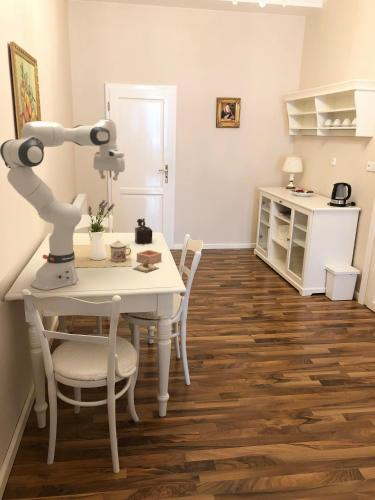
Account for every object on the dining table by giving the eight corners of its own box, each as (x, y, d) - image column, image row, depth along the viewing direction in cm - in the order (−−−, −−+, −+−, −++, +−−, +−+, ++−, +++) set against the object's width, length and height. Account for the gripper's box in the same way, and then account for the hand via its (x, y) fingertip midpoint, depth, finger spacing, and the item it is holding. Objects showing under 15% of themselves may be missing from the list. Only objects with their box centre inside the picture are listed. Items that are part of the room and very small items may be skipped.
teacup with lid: (111, 262, 230) (111, 243, 226) (109, 258, 238) (109, 239, 235) (132, 261, 233) (132, 241, 230) (129, 256, 242) (129, 238, 238)
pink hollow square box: (149, 265, 227) (149, 256, 226) (136, 261, 233) (136, 253, 232) (161, 261, 235) (161, 252, 234) (148, 257, 241) (148, 249, 239)
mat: (146, 273, 214) (146, 272, 214) (132, 268, 220) (132, 268, 220) (158, 268, 222) (158, 267, 222) (145, 264, 228) (145, 264, 228)
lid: (145, 272, 214) (145, 263, 213) (132, 268, 220) (132, 259, 219) (158, 268, 222) (158, 259, 220) (145, 264, 228) (145, 256, 226)
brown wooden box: (133, 240, 279) (133, 214, 274) (149, 239, 282) (149, 214, 277) (137, 246, 264) (137, 219, 259) (154, 245, 267) (154, 218, 262)
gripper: (90, 151, 211) (91, 178, 215) (117, 153, 200) (117, 181, 203) (99, 151, 216) (100, 177, 220) (126, 153, 204) (126, 180, 208)
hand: (108, 179), depth 212 cm, fingers open, 8 cm apart
